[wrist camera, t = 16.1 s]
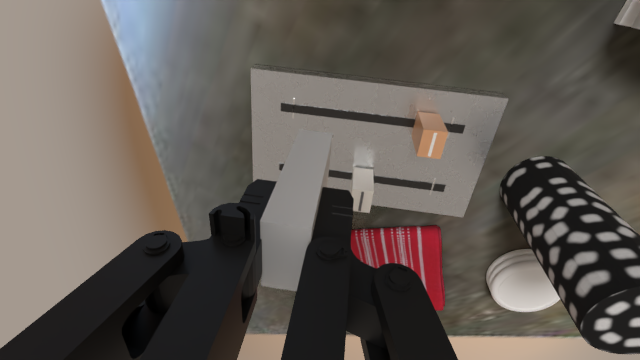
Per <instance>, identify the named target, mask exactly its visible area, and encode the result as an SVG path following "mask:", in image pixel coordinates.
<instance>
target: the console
mask: <svg viewBox="0 0 640 360" xmlns="http://www.w3.org/2000/svg"><path fill="white" fill-rule="evenodd" d="M507 102H508V98H507V97H506V96H505V95H504V94H503V93H498V92H490V91H481V90H473V89H464V88H455V87H447V86H438V85H430V84H421V83H413V82H404V81H395V80H387V79H378V78H370V77H361V76H352V75H344V74H335V73H327V72H318V71H309V70H301V69H292V68H284V67H275V66H266V65H258V64H255V65H254V66H253V67H252V68H251V105H252V152H253V182H254V181H255V180H257V179H262V180H269V181H277V180H278V178H279V176H280V173H281V171H282V169H283V166H284V164H285V162H286V160H287V157H288V155H289V153H290V150H291V148H292V146H293V143H294V141H295V139H296V136H297V134H298V132H299V129H303V130H311V131H319V132H327V133H333V137H332V146H331V155H330V165H329V174H328V183H327V187H328V188H335V189H343V190H349V191H350V190H351V182H352V176H353V170H354V167H357V168H365V169H372V170H373V179H374V193H373V198H372V203H371V205H376V206H383V207H390V208H398V209H405V210H412V211H420V212H427V213H434V214H442V215H449V216H456V217H463V216H464V214H465V211H466V209H467V206H468V203H469V201H470V198H471V196H472V193H473V190H474V188H475V185H476V183H477V180H478V177H479V175H480V172H481V169H482V167H483V164H484V162H485V159H486V156H487V154H488V151H489V149H490V146H491V143H492V141H493V138H494V136H495V133H496V130H497V128H498V125H499V122H500V120H501V117H502V115H503V112H504V109H505V107H506V104H507ZM417 112H425V113H433V114H440V116H441V118H442V120H443V122H444V124H445V126H446V129H447V131H448V135H447V139H446V142H445V145H444V149H443V152H442V155H441V158H440V159H435V158H427V157H419V156H417V155H416V151H415V148H414V144H413V140H412V132H413V128H414V124H415V120H416V116H417Z"/></svg>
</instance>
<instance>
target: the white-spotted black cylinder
mask: <svg viewBox="0 0 640 360" xmlns="http://www.w3.org/2000/svg"><path fill="white" fill-rule="evenodd" d="M500 195H501V198H502V200H503V202H504V203H505V205H506V207H507V209H508V210H509V212H510V214H511V215H512V217H513V219H514V221H515V222H516V224H517V226H518V227H519V229H520V231H521V233H522V234H523V236H524V238H525V239H526V241H527V243H528V245H529V246H530V248H531V250H532V251H533V253H534V255H535V256H536V258H537V260H538V262H539V263H540V265H541V267H542V268H543V270H544V272H545V274H546V275H547V277H548V279H549V280H550V282H551V284H552V286H553V287H554V289H555V291H556V292H557V294H558V296H559V298H560V299H561V301H562V303H563V304H564V306H565V308H566V309H567V311H568V313H569V315H570V316H571V318H572V320H573V321H574V323H575V325H576V327H577V328H578V330H579V332H580V333H581V335H582V337H583V338H584V339H585V341H586V342H587V343H588V344H590V345H591V346H593V347H595V348H597V349H599V350H602V351H606V352H609V353H616V354H640V235H639V234H638V233H637V232H636V231H635V230H633V229H632V228H631V227H630V226H629V225H628V224H627V223H626V222H625V221H624V220H623V219H622V218H621V217H620V216H619V215H618V214H617V213H616V212H615V211H614V210H613V209H612V208H611V207H610V206H609V205H608V204H607V203H606V202H605V201H604V200H603V199H602V198H601V197H600V196H599V195H598V194H597V193H596V192H595V191H594V190H593V189H592V188H591V187H590V186H589V185H587V184H586V183H585V182H584V181H583V180H582V179H581V178H580V177H579V176H578V175H577V174H576V173H575V172H574V171H573V170H572V169H571V168H570V167H569V166H568V165H567V164H566V163H565V162H563V161H562V160H560V159H558V158H554V157H547V156H542V157H534V158H530V159H527V160H525V161H522V162H521V163H519V164H517V165H515V166H514V167H513V168H512V169H510V170H509V172H508V173H507V174H506V175H505V177H504V178H503V180H502V183H501V186H500Z"/></svg>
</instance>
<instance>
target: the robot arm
mask: <svg viewBox="0 0 640 360" xmlns="http://www.w3.org/2000/svg"><path fill="white" fill-rule="evenodd" d="M332 137H333V133H327V132H319V131H311V130H303V129H299V132H298V134H297V136H296V139H295V141H294V143H293V146H292V148H291V150H290V153H289V155H288V157H287V160H286V162H285V164H284V166H283V169H282V171H281V173H280V176H279V178H278V180H277V181H269V180H262V179H257V180H255V181H254V182H253V183H251V184H250V185H248V187H247V189H246V191H245V192H244V195H243V196H242V198H241V200H240V202H239V203H227V204H223V205H220V206H218V207H216V208H214V209H213V210H212V211H211V212H210V213H209V218H210V227H211V237H210V238H209V239H206V240H201V241H193V242H182V240H181V238H180V236H179V235H177V234H176V233H174V232H171V231H165V230H164V231H155V232H152V233H148V234H146V235H144V236H142V237H141V238H139V239H138V240H136V241H135V242H134V243H133V244H131V245H130V246H129V247H128V248H126V249H125V250H124V251H123V252H121V253H120V254H119V255H118V256H116V257H115V258H114V259H112V260H111V261H110V262H109V263H108V264H106V265H105V266H104V267H102V268H101V269H100V270H99V271H97V272H96V273H95V274H94V275H92V276H91V277H90V278H89V279H87V280H86V281H85V282H84V283H82V284H81V285H80V286H79V287H77V288H76V289H75V290H74V291H72V292H71V293H70V294H69V295H67V296H66V297H65V298H64V299H62V300H61V301H60V302H59V303H57V304H56V305H55V306H53V307H52V308H51V309H50V310H48V311H47V312H46V313H45V314H43V315H42V316H41V317H40V318H38V319H37V320H36V321H35V322H33V323H32V324H31V325H30V326H29V327H27V328H26V329H25V330H24V331H22V332H21V333H20V334H19V335H17V336H16V337H15V338H13V339H12V340H11V341H9V342H8V343H7V344H6V345H4V346H3V347H2V348H1V349H0V360H237V357H238V354H239V351H240V348H241V345H242V342H243V339H244V336H245V333H246V330H247V327H248V324H249V321H250V318H251V315H252V313H253V310H254V307H255V304H256V301H257V286H258V283H259V280H260V278H261V286H265V287H272V288H278V289H285V290H291V291H297V292H296V296H295V300H294V305H293V309H292V313H291V318H290V322H289V327H288V331H287V335H286V340H285V344H284V348H283V353H282V357H281V360H344V352H345V338H346V331H348V332H350V333H352V334H354V335H356V336H358V337H360V338H361V344H362V348H363V353H364V357H365V360H458V359H457V357H456V354H455V352H454V350H453V348H452V345H451V343H450V341H449V339H448V337H447V335H446V332H445V330H444V328H443V326H442V324H441V321H440V319H439V317H438V315H437V313H436V311H435V308H434V306H433V304H432V302H431V300H430V297H429V295H428V293H427V291H426V289H425V286H424V284H423V282H422V280H421V279H420V277H419V276H418V274H417V273H416V272H415V271H413V270H412V269H411V268H409V267H407V266H405V265H402V264H398V263H387V264H383V265H381V266H380V267H378V268H374V267H372V266H369V265H367V264H365V263H363V262H362V261H360V260H359V259H358V258H357V257H356V256H355V255H354V253H353V251H352V249H351V231H352V216H353V203H354V198H353V197H352V195H351V193H350V191H349V190H343V189H335V188H328V187H327V183H328V174H329V165H330V155H331V146H332Z"/></svg>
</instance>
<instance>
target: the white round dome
mask: <svg viewBox="0 0 640 360" xmlns="http://www.w3.org/2000/svg"><path fill="white" fill-rule="evenodd" d="M486 281H487V284H488V286H489V289H490V291H491V295H492V297H493V299H494V300H495V301H496V302H497V303H498V304H499V305H500V306H502V307H504V308H506V309H508V310H512V311H517V312H533V311H538V310H542V309H545V308H547V307H550V306H552V305H553V304H555V303H556V302H558V301H559V300H560V298H559V296H558V294H557V292H556V291H555V289H554V287H553V286H552V284H551V282H550V280H549V279H548V277H547V275H546V274H545V272H544V270H543V268H542V267H541V265H540V263H539V262H538V260H537V258H536V256H535V255H534V253H533V251H532V250H531V249H519V250H514V251H511V252H508V253H506V254H503V255H502V256H500V257H498V258H497V259H496V260H495V261H493V262H492V264H491V265H490V266H489V268H488V270H487V274H486Z"/></svg>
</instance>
